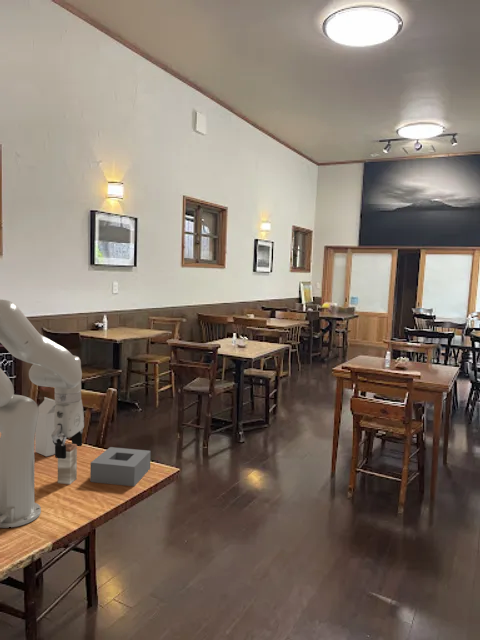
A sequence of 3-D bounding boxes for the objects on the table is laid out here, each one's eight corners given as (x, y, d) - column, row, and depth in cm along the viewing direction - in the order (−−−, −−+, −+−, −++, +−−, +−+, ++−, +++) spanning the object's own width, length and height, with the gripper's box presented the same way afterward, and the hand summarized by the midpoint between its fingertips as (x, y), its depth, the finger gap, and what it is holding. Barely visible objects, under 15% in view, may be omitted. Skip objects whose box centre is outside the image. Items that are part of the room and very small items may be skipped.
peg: (70, 484, 144) (70, 448, 143) (57, 483, 145) (57, 447, 144) (76, 479, 148) (76, 444, 147) (64, 477, 149) (64, 443, 148)
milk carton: (46, 457, 165) (46, 402, 164) (35, 452, 169) (35, 399, 168) (64, 451, 171) (65, 399, 169) (53, 447, 175) (53, 395, 173)
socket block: (134, 486, 144) (134, 466, 144) (90, 481, 146) (90, 462, 146) (150, 468, 158) (150, 450, 158) (109, 464, 160) (110, 447, 160)
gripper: (64, 406, 136) (66, 464, 138) (93, 390, 153) (93, 442, 155) (40, 404, 137) (41, 462, 139) (70, 388, 154) (71, 440, 156)
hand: (69, 451), depth 147 cm, fingers open, 9 cm apart
